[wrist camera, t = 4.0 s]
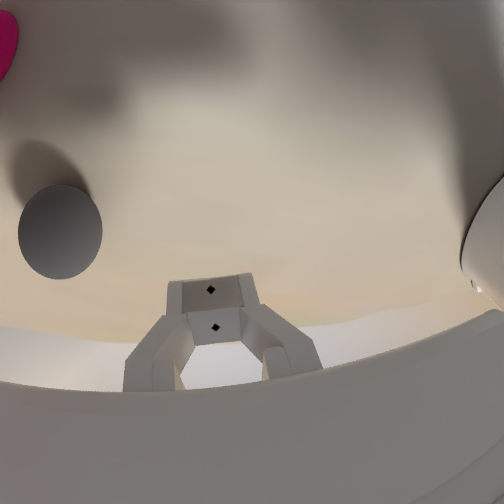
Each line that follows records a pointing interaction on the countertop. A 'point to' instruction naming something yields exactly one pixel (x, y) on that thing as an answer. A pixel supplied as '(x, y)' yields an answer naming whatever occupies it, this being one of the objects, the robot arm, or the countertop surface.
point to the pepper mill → (7, 40)
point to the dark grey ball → (60, 232)
